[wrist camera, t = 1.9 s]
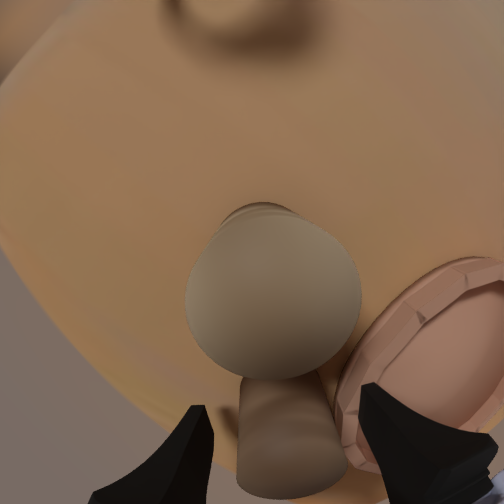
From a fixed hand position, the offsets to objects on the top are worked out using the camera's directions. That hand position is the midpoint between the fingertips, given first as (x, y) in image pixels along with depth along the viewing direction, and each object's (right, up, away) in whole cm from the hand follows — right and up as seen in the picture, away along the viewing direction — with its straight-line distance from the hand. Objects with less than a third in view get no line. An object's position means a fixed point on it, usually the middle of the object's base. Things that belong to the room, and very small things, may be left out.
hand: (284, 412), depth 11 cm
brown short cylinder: (0, 0, +2) cm, 2 cm away
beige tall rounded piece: (-1, +7, 0) cm, 7 cm away
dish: (+10, 0, +2) cm, 10 cm away
